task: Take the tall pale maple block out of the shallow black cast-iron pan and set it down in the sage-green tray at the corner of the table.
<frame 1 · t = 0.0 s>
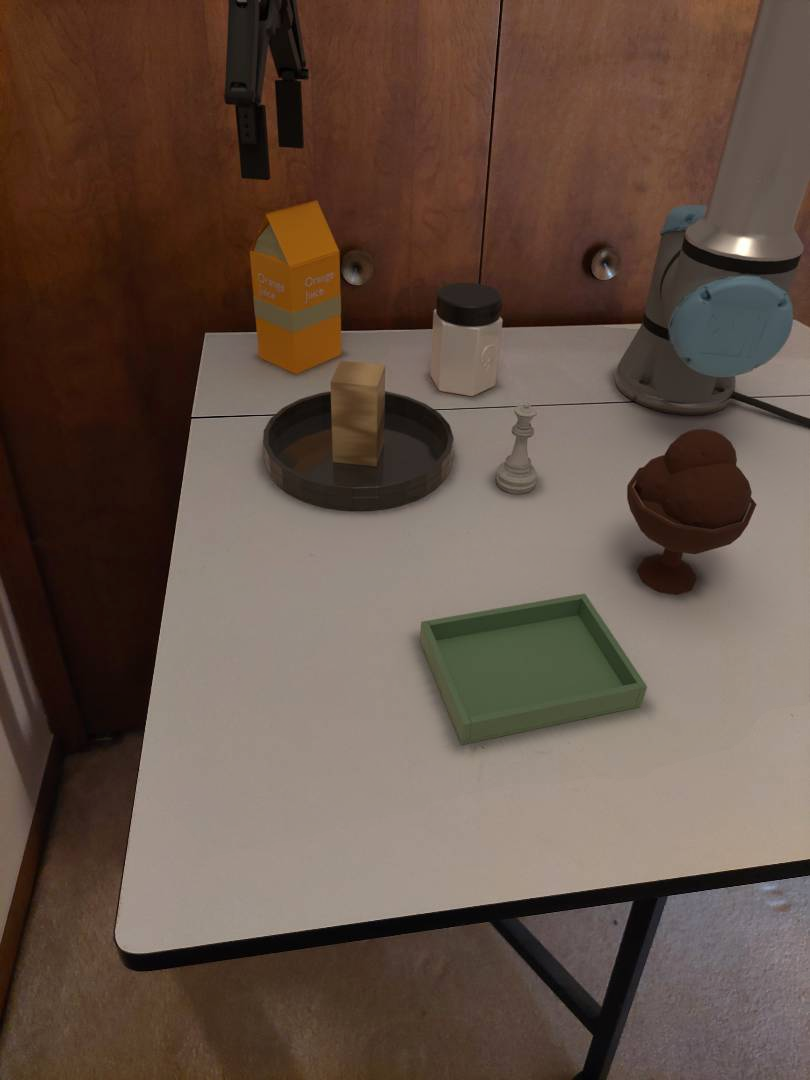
hand: (274, 162, 85), 28 cm above the table, tool pointing down, fingers open, 13 cm apart
orange juice: (300, 356, 112), on the table
jar: (462, 382, 107), on the table
chess piece: (515, 484, 89), on the table
block: (358, 452, 91), resting on pan
tray: (526, 672, 66), on the table
pan: (358, 456, 92), on the table
ice cream bowl: (665, 576, 77), on the table
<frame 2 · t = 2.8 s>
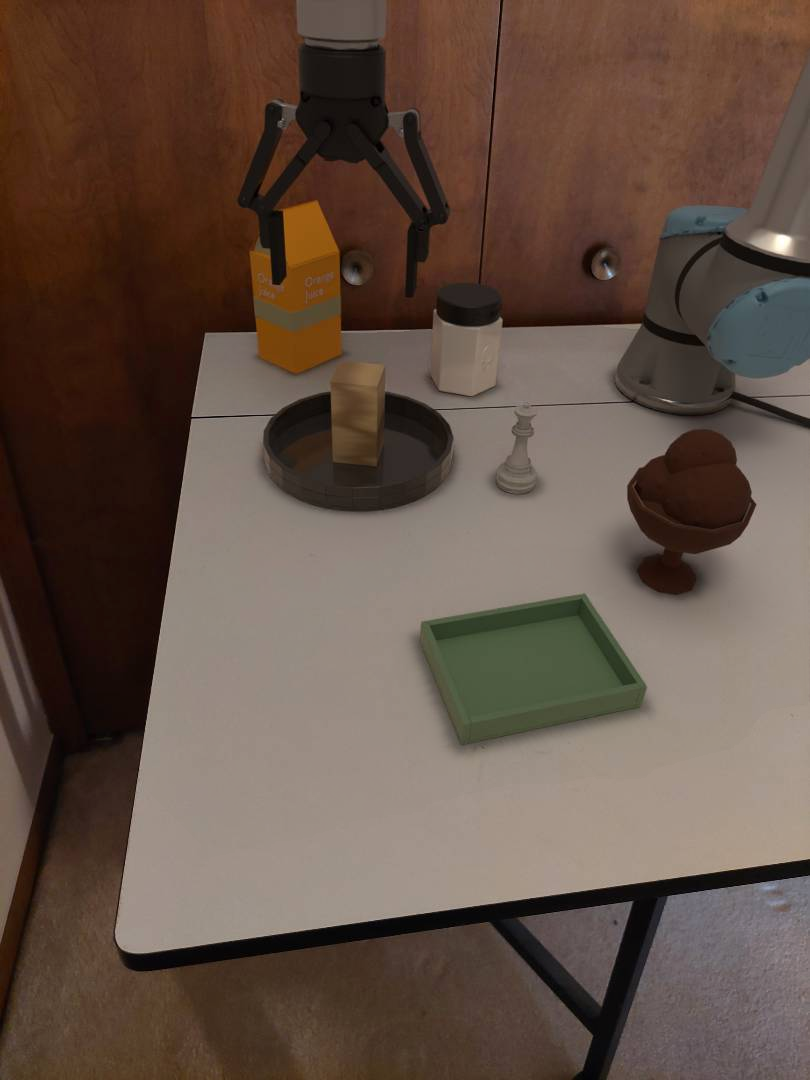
hand: (344, 286, 81), 19 cm above the table, tool pointing down, fingers open, 13 cm apart
nothing on the table moved.
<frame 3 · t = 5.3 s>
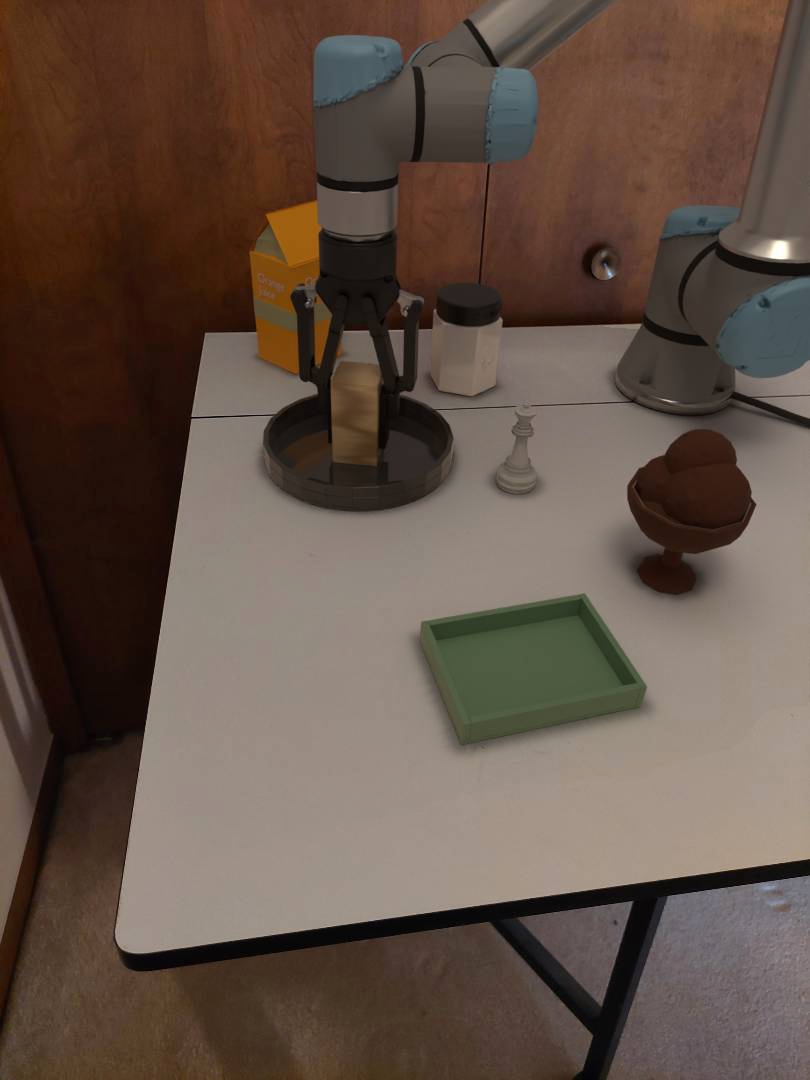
hand: (358, 439, 90), 2 cm above the table, tool pointing down, fingers closed on block, 5 cm apart
block: (358, 452, 91), point 1 cm above the table, touching gripper, pan
everything else where it was.
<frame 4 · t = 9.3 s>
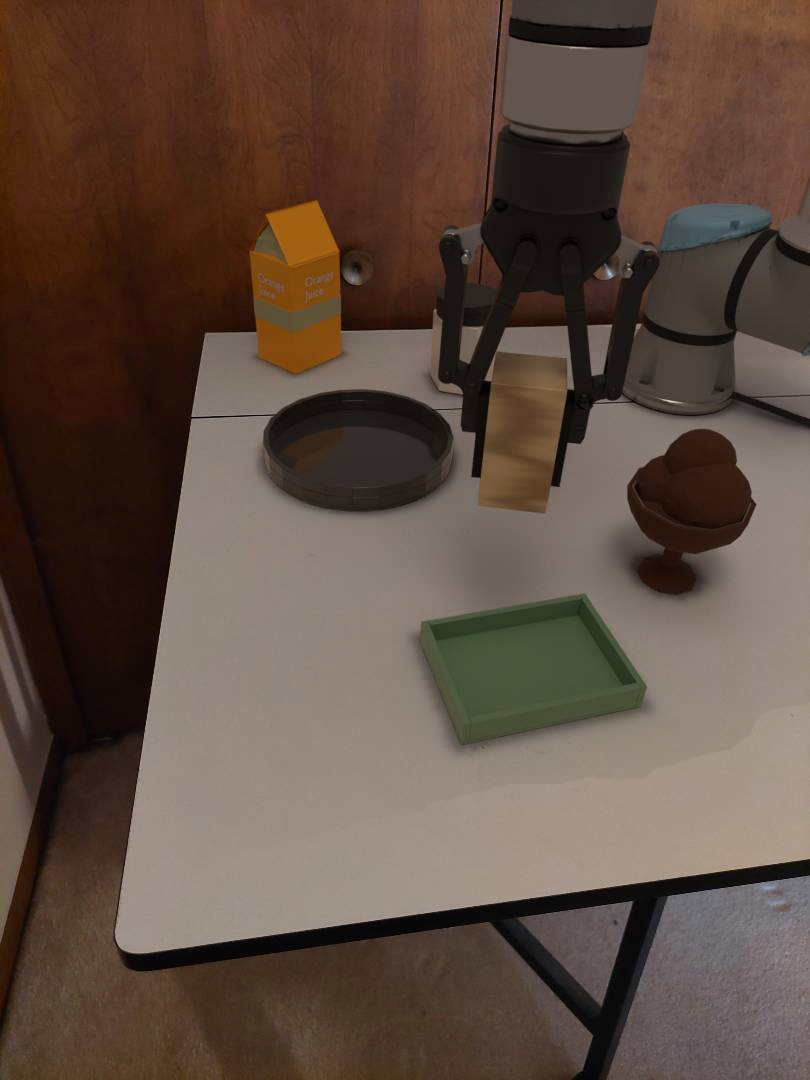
hand: (516, 471, 60), 17 cm above the table, tool pointing down, fingers closed on block, 5 cm apart
block: (513, 490, 61), point 15 cm above the table, touching gripper
everything else where it was.
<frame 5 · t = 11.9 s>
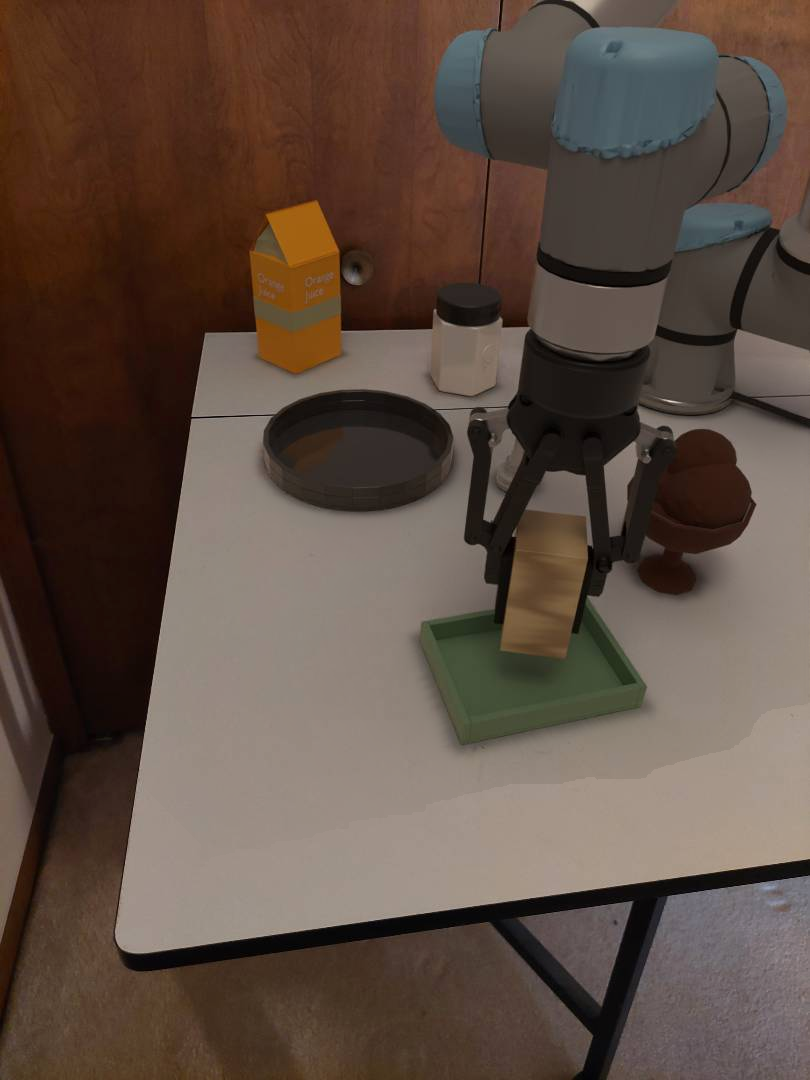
hand: (536, 616, 62), 7 cm above the table, tool pointing down, fingers closed on block, 5 cm apart
block: (533, 632, 63), point 5 cm above the table, touching gripper
everything else where it was.
when the fingers open (2 cm above the table, at t = 13.4 s): block stays where it is, resting on tray.
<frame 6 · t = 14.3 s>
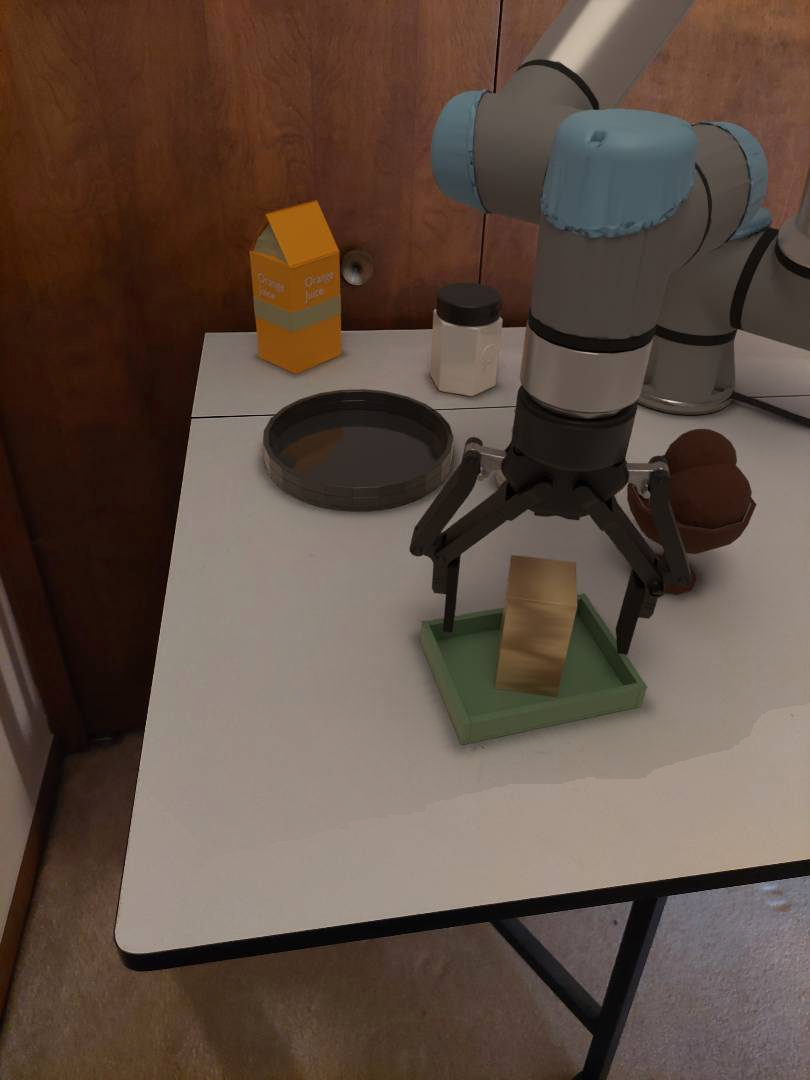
hand: (534, 631, 64), 5 cm above the table, tool pointing down, fingers open, 13 cm apart
block: (526, 670, 66), resting on tray
everything else where it was.
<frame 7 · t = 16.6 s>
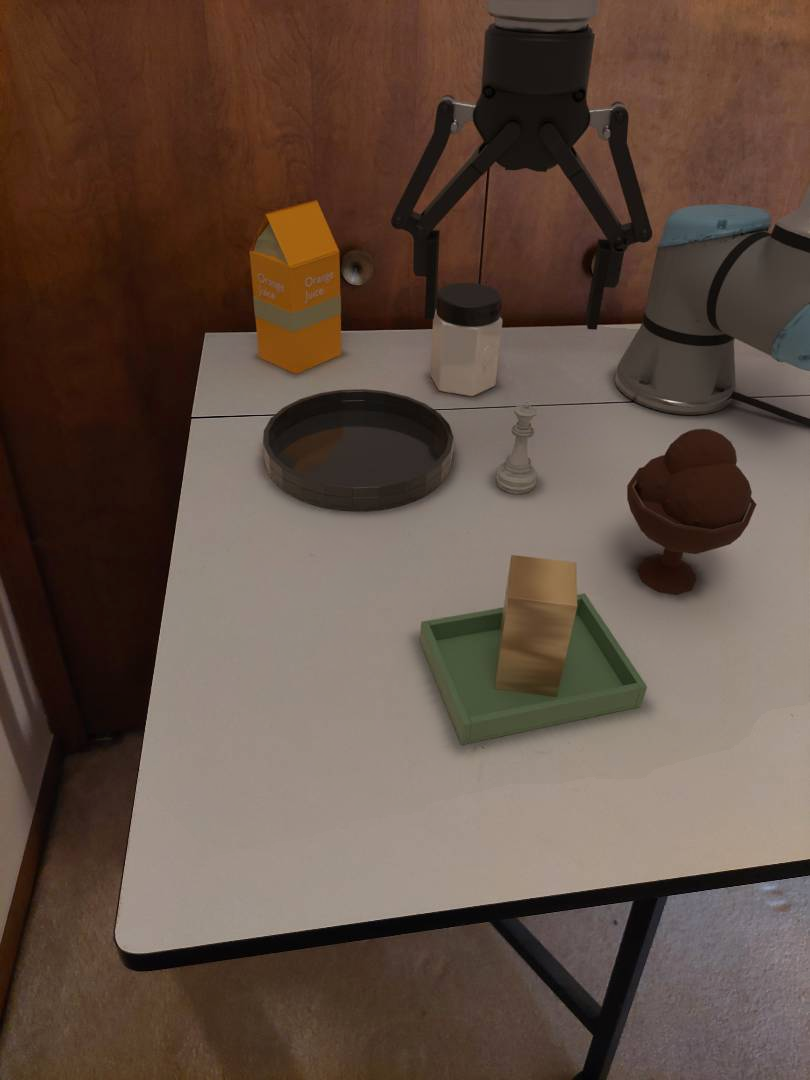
hand: (510, 318, 68), 22 cm above the table, tool pointing down, fingers open, 13 cm apart
nothing on the table moved.
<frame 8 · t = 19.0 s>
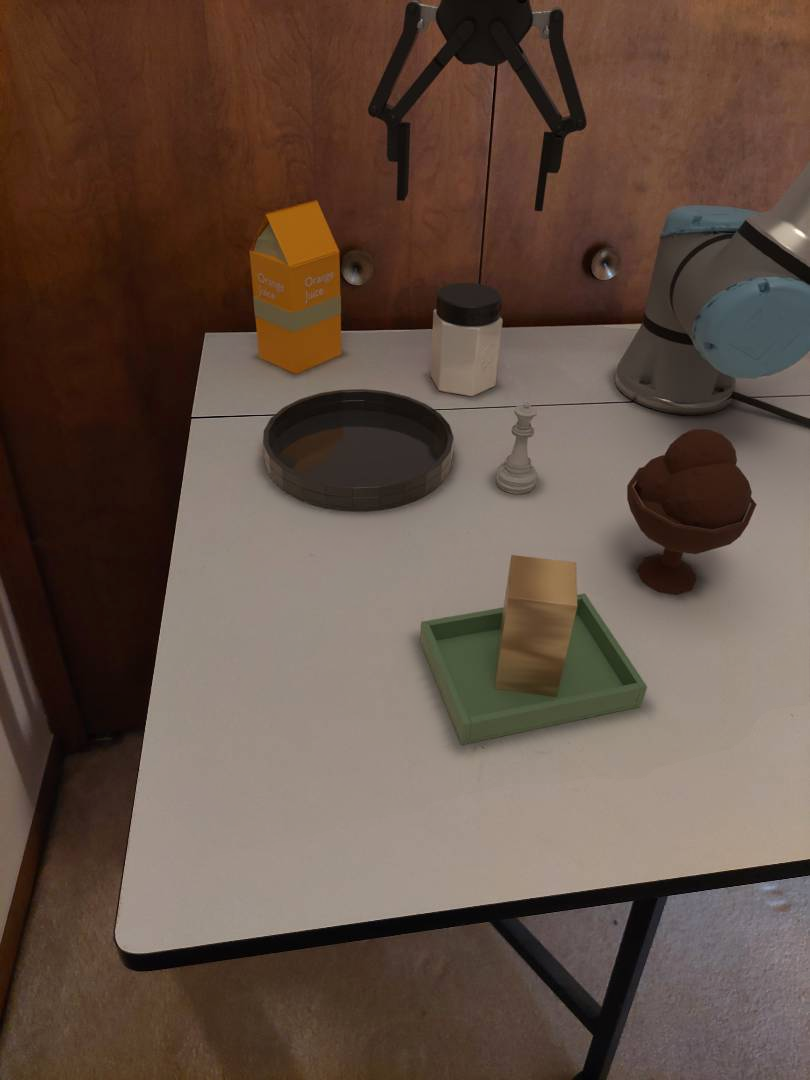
hand: (469, 202, 80), 27 cm above the table, tool pointing down, fingers open, 13 cm apart
nothing on the table moved.
at the end: block inside the target area in the tray (0.1 cm from its centre), point 0.4 cm above the tray's base; block tilted 0°; the gripper is holding nothing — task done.
